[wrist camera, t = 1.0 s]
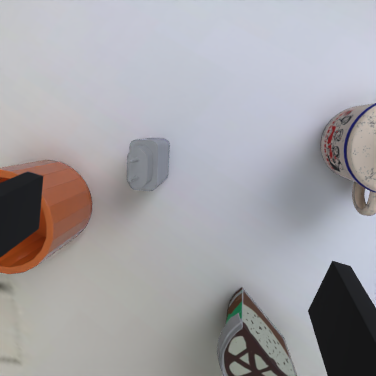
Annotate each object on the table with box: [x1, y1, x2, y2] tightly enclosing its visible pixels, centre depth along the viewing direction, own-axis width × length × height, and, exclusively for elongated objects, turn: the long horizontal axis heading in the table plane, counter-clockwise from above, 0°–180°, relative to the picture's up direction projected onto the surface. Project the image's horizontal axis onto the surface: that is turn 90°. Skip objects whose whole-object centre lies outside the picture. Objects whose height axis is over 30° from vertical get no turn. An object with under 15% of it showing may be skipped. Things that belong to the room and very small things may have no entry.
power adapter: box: [127, 138, 170, 191], centre depth 35 cm, size 3×5×12 cm, turn 177°
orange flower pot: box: [0, 160, 92, 274], centre depth 38 cm, size 12×12×10 cm
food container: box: [217, 287, 297, 376], centre depth 38 cm, size 12×6×10 cm, turn 40°
